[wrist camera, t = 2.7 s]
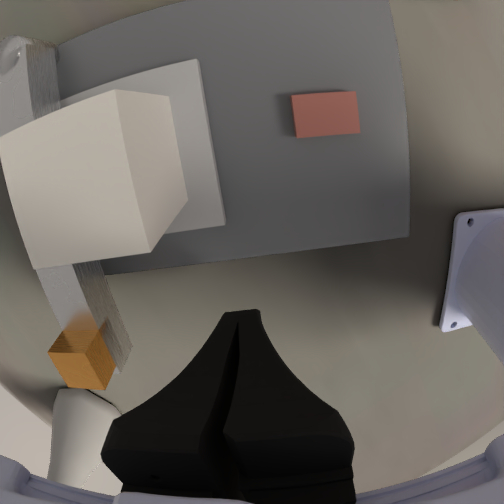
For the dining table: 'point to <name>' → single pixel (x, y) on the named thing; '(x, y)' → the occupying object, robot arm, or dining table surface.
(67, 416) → the flask
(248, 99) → the grey flat block
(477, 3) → the dining table surface
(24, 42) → the grey bar orange end
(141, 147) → the plug
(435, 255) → the dining table surface
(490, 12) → the dining table surface
